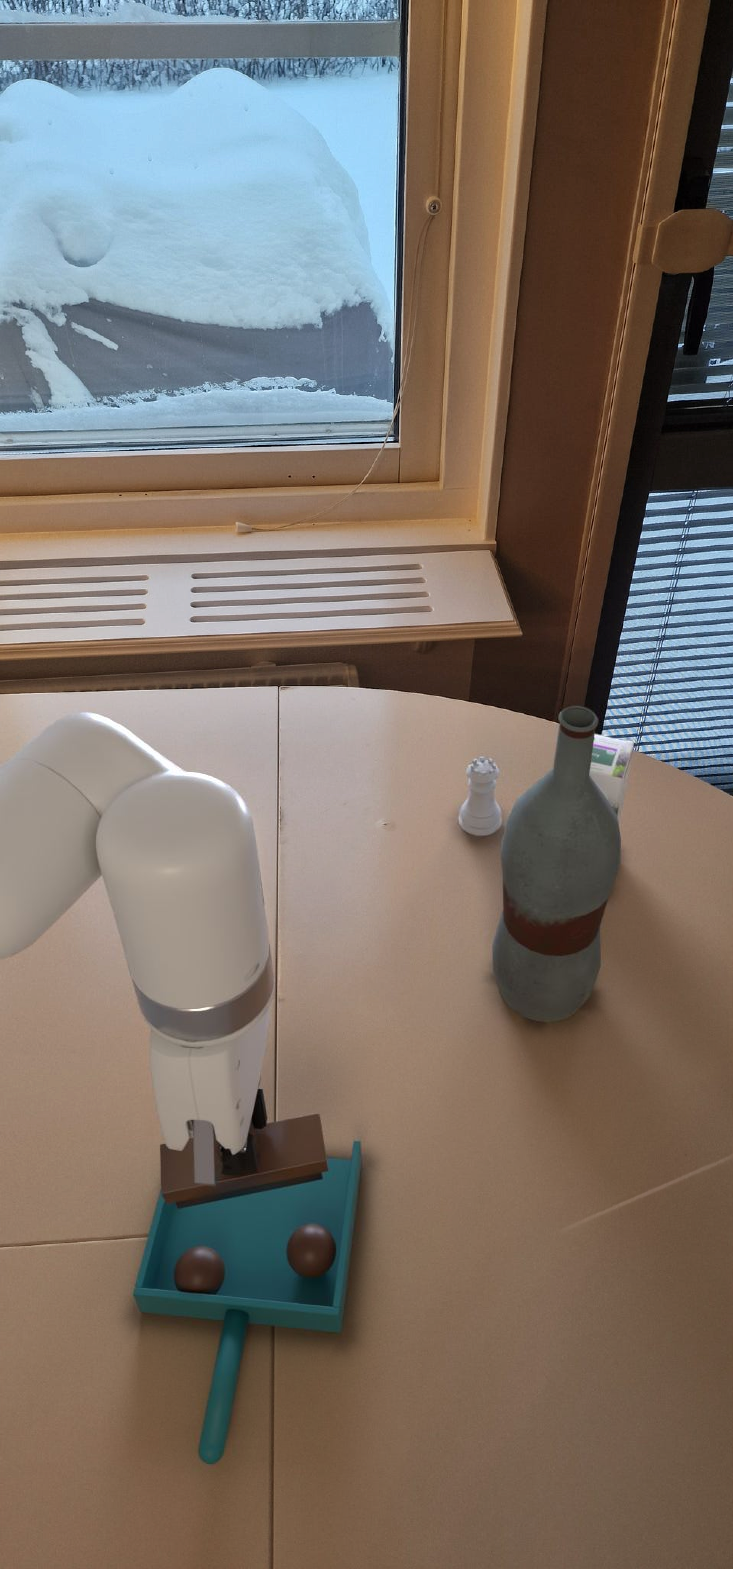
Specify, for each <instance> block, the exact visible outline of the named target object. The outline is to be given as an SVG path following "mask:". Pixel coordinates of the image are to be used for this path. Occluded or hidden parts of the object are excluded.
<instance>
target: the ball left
mask: <svg viewBox="0 0 733 1569" xmlns="http://www.w3.org/2000/svg"><path fill="white" fill-rule="evenodd" d="M224 1278H225V1266H224V1263H223V1260H222V1258H221V1256H220V1255H219V1254H218V1253H217V1252H216V1251H215V1250H213V1249H212V1248H209V1247H206V1246H197V1247H193V1248H191V1249H189V1250H187V1251H186V1252H185V1253H183V1254H182V1256H181V1257H180V1258H179V1260H178V1261H177V1263H176V1266H175V1270H174V1282H175V1285H176V1288H177V1290H178V1292H187V1293H197V1294H207V1295H215V1294H216V1293H217V1292H218V1291H219V1290H220V1288H221V1286H222V1284H223V1282H224Z"/></svg>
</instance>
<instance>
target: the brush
mask: <svg viewBox="0 0 733 1569" xmlns="http://www.w3.org/2000/svg"><path fill="white" fill-rule="evenodd" d="M321 1120H322V1119H321V1116H320V1113H319V1112H315V1113H311V1114H306V1115H301V1116H296V1117H291V1118H286V1119H281V1120H276V1121H271V1122H267V1123H266V1126H265V1127H264V1128H263V1129H254V1126H253V1123H252V1119H251V1122H250V1127H249V1131H248V1132H249V1133H251V1134H252V1135H253V1136H254V1142H255V1147H256V1152H257V1158H258V1168H257V1172H255V1173H248V1172H241V1174H240V1175H236V1176H232V1175H224V1174H221V1175H220V1177H219V1180H218V1183H217V1185H216V1186H204V1185H195V1182H194V1145H193V1137H190V1138H189V1140H188V1142H187V1144H186V1145H185V1147H184V1149H183V1150H182V1151H179V1150H173V1149H169V1148H168V1147H167V1145H166V1144H165V1143H160V1145H159V1159H160V1160H159V1161H160V1162H159V1164H160V1190H161V1194H162V1196H163V1199H164V1201H165V1203H166V1204H170V1203H175V1204H176V1206H177V1208H178V1209H180V1208H185V1207H190V1206H195V1205H200V1204H205V1203H210V1202H215V1201H219V1200H224V1199H229V1198H234V1197H239V1196H244V1195H249V1194H254V1193H259V1192H263V1191H268V1190H273V1189H278V1188H283V1187H288V1186H293V1185H298V1184H303V1183H308V1182H312V1181H317V1180H322V1179H323V1175H322V1172H327V1171H329V1169H328V1163H327V1158H328V1156H327V1151H326V1144H325V1137H324V1131H323V1126H322V1121H321Z"/></svg>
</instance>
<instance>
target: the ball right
mask: <svg viewBox="0 0 733 1569" xmlns="http://www.w3.org/2000/svg"><path fill="white" fill-rule="evenodd" d="M286 1254H287V1260H288V1263H289V1265H290V1267H291V1268H292V1269H293V1271H294V1272H295V1273H297V1274H298V1275H300V1276H302V1277H305V1278H317V1277H320V1276H322V1275H324V1274H325V1273H326V1272H327V1271H328V1270H329V1269H330V1268H331V1266H332V1265H333V1263H334V1260H335V1257H336V1244H335V1240H334V1238H333V1236H332V1235H331V1233H330V1232H329V1231H328V1230H327V1229H326V1228H324V1227H323V1226H321V1225H318V1224H306V1225H303V1226H301V1227H299V1228H298V1229H296V1230H295V1231H294V1232H293V1233H292V1235H291V1236H290V1238H289V1240H288V1243H287V1248H286Z"/></svg>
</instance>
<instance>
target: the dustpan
mask: <svg viewBox="0 0 733 1569" xmlns="http://www.w3.org/2000/svg"><path fill="white" fill-rule="evenodd" d="M362 1162H363V1160H362V1147H361V1140H353V1143H352V1150H351V1159H344V1158H333V1157H332V1158H331V1157H327V1163H328V1169H329V1171H327V1172H322V1175H323V1179H322V1180H317V1181H312V1182H308V1183H303V1184H298V1185H293V1186H288V1187H283V1188H278V1189H273V1190H268V1191H263V1192H259V1193H254V1194H249V1195H244V1196H239V1197H234V1198H229V1199H224V1200H219V1201H215V1202H210V1203H205V1204H200V1205H195V1206H190V1207H185V1208H180V1209H178V1208H177V1206H176V1204H175V1203H170V1204H166V1203H165V1201H164V1199H163V1196H162V1194H161V1189H160V1190H159V1194H158V1199H157V1202H156V1206H155V1210H154V1213H153V1217H152V1221H151V1224H150V1227H149V1232H148V1236H147V1239H146V1244H145V1248H144V1251H143V1255H142V1257H141V1262H140V1266H139V1270H138V1273H137V1277H136V1280H135V1283H134V1289H133V1292H132V1295H133V1298H134V1300H135V1302H136V1305H137V1307H138V1310H139V1311H140V1313H144V1314H145V1313H146V1314H154V1315H155V1314H156V1315H165V1316H176V1317H185V1318H195V1319H204V1320H213V1321H221V1322H223V1323H222V1328H221V1333H220V1337H219V1343H218V1348H217V1354H216V1356H215V1357H216V1359H215V1363H214V1368H213V1373H212V1376H211V1377H212V1378H211V1384H210V1388H209V1393H208V1398H207V1404H206V1408H205V1413H204V1419H203V1423H202V1428H201V1433H200V1438H199V1443H198V1450H197V1453H198V1456H199V1459H200V1460H201V1461H202V1463H204V1464H206V1465H210V1466H211V1465H215V1464H217V1463H218V1462H220V1461H221V1459H222V1458H223V1456H224V1453H225V1449H226V1444H227V1437H228V1433H229V1427H230V1422H231V1417H232V1411H233V1406H234V1400H235V1394H236V1389H237V1383H238V1378H239V1373H240V1367H241V1361H242V1356H243V1351H244V1347H245V1346H244V1345H245V1340H246V1335H247V1329H248V1324H250V1325H251V1324H252V1325H261V1326H270V1327H281V1328H290V1329H301V1330H308V1331H309V1330H310V1331H320V1332H329V1333H338V1334H341V1333H342V1328H343V1322H344V1314H345V1306H346V1297H347V1288H348V1280H349V1273H350V1272H349V1271H350V1262H351V1256H352V1255H351V1254H352V1247H353V1246H352V1245H353V1238H354V1230H355V1221H356V1213H357V1206H358V1198H359V1197H358V1196H359V1188H360V1179H361V1172H362ZM306 1224H318V1225H321V1226H323V1227H324V1228H326V1229H327V1230H328V1231H329V1232H330V1233H331V1235H332V1236H333V1238H334V1240H335V1244H336V1257H335V1260H334V1263H333V1265H332V1266H331V1268H330V1269H329V1270H328V1271H327V1272H326V1273H325V1274H324V1275H322V1276H320V1277H317V1278H305V1277H302V1276H300V1275H298V1274H297V1273H295V1272H294V1271H293V1269H292V1268H291V1267H290V1265H289V1263H288V1260H287V1254H286V1248H287V1243H288V1240H289V1238H290V1236H291V1235H292V1233H293V1232H294V1231H295V1230H296V1229H298V1228H299V1227H301V1226H303V1225H306ZM197 1246H206V1247H209V1248H212V1249H213V1250H215V1251H216V1252H217V1253H218V1254H219V1255H220V1256H221V1258H222V1260H223V1263H224V1266H225V1278H224V1282H223V1284H222V1286H221V1288H220V1290H219V1291H218V1292H217V1293H216V1294H215V1295H207V1294H197V1293H187V1292H178V1290H177V1288H176V1285H175V1282H174V1270H175V1266H176V1263H177V1261H178V1260H179V1258H180V1257H181V1256H182V1254H183V1253H185V1252H186V1251H187V1250H189V1249H191V1248H193V1247H197Z"/></svg>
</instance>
